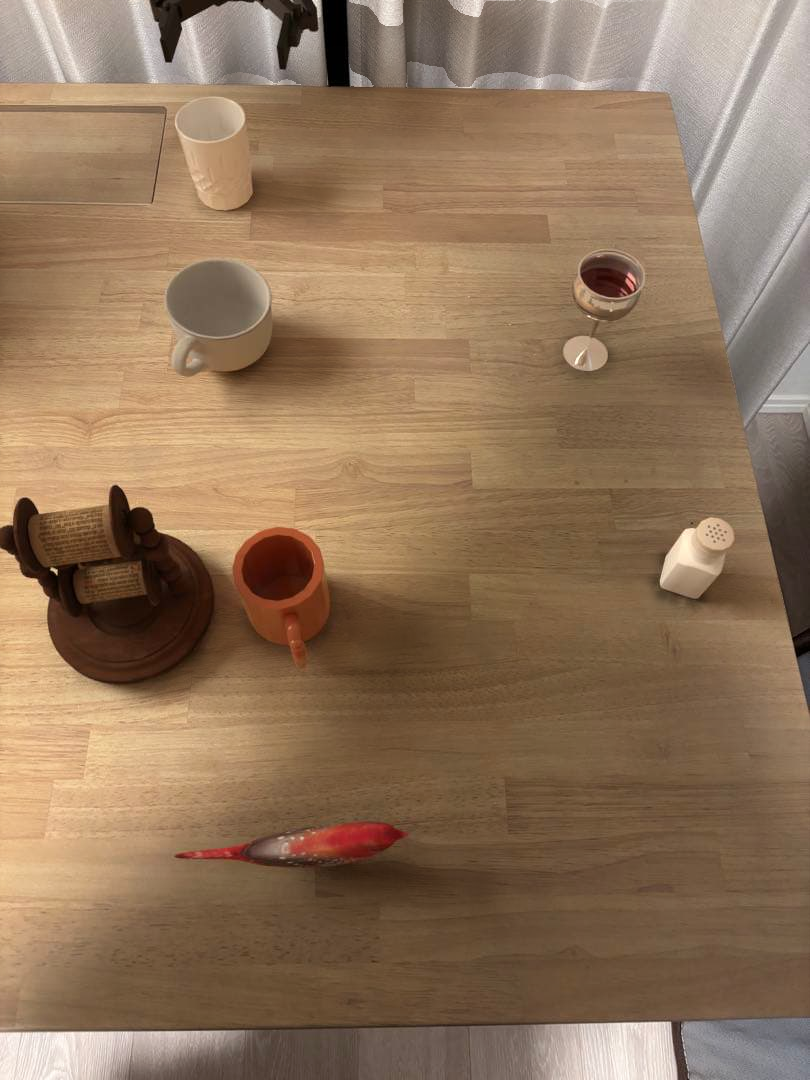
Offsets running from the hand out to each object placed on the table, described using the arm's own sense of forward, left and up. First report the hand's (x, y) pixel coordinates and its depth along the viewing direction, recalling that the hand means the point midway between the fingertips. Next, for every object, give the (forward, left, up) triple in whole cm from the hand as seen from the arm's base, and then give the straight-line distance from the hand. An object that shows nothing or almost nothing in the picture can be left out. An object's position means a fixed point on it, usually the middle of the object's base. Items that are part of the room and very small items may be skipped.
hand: (223, 55), depth 96 cm
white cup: (+9, -3, -11) cm, 15 cm away
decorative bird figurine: (+87, -11, -11) cm, 88 cm away
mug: (+67, -7, -11) cm, 68 cm away
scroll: (+62, -21, -11) cm, 66 cm away
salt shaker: (+72, +30, -11) cm, 79 cm away
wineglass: (+44, +31, -11) cm, 55 cm away
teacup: (+34, -8, -11) cm, 37 cm away
